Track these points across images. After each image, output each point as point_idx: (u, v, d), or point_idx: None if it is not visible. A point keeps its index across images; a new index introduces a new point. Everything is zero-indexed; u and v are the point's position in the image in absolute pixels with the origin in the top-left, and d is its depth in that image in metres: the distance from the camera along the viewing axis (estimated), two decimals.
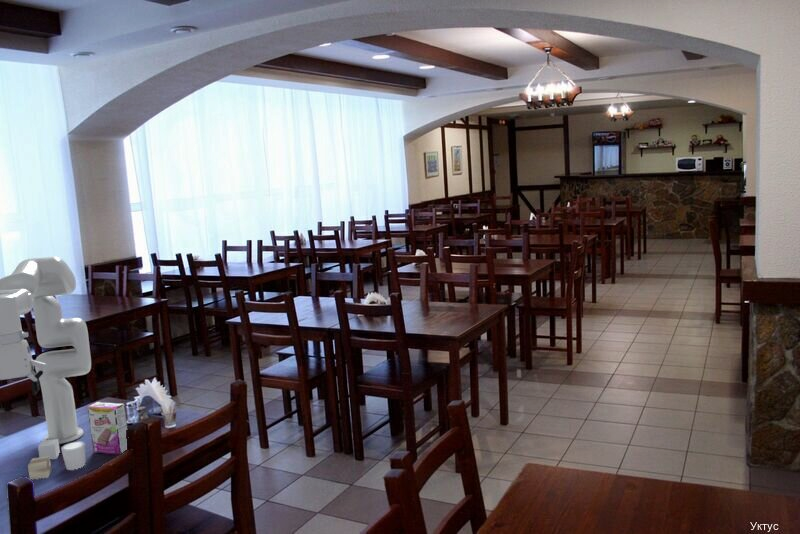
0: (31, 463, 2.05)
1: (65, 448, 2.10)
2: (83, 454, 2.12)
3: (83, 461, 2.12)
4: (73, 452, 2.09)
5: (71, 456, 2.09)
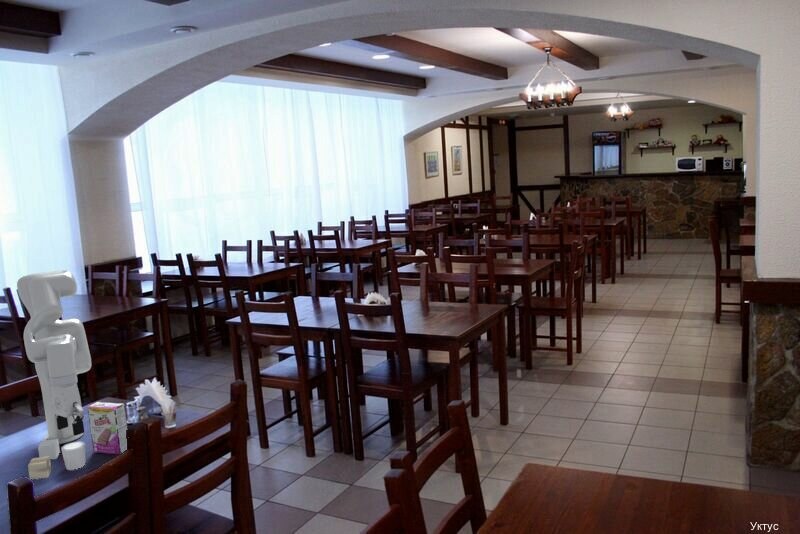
0: (31, 463, 2.05)
1: (65, 448, 2.10)
2: (83, 454, 2.12)
3: (83, 461, 2.12)
4: (73, 452, 2.09)
5: (71, 456, 2.09)
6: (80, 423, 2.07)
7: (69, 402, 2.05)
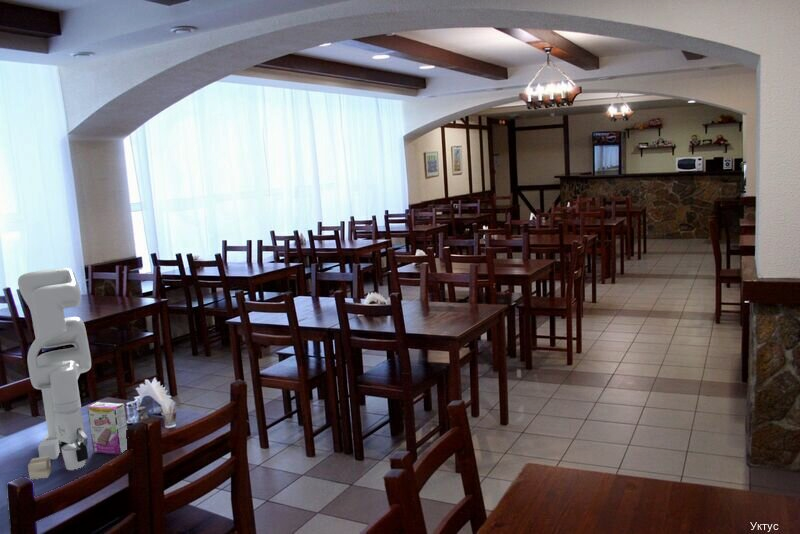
0: (31, 463, 2.05)
1: (65, 448, 2.10)
2: None
3: (83, 461, 2.12)
4: (73, 452, 2.09)
5: (71, 456, 2.09)
6: (84, 449, 2.08)
7: (73, 429, 2.06)
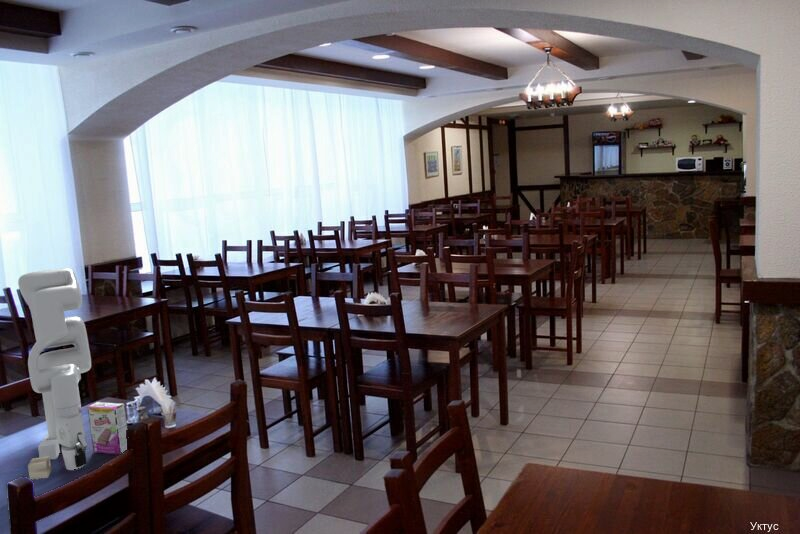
0: (31, 463, 2.05)
1: (65, 448, 2.10)
2: None
3: None
4: (73, 452, 2.09)
5: (71, 456, 2.09)
6: (82, 455, 2.10)
7: (73, 433, 2.07)
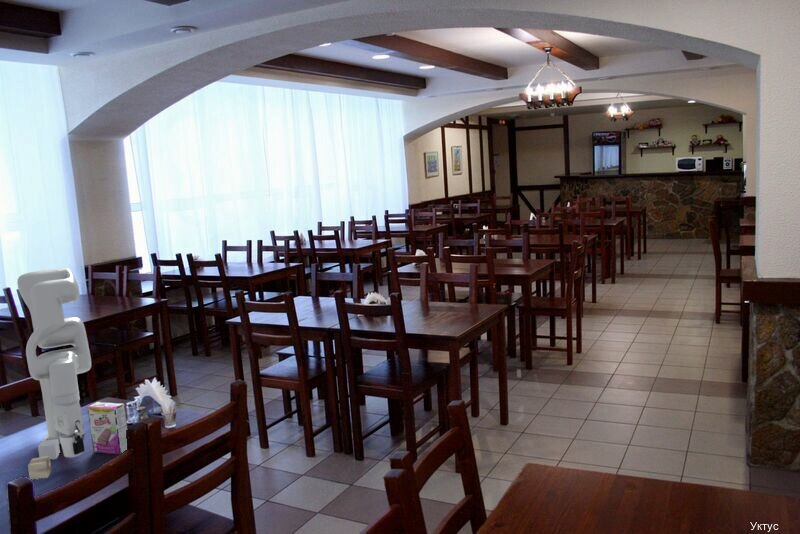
0: (31, 463, 2.05)
1: (63, 435, 2.10)
2: None
3: None
4: (71, 440, 2.09)
5: (69, 443, 2.09)
6: (80, 442, 2.10)
7: (71, 421, 2.06)
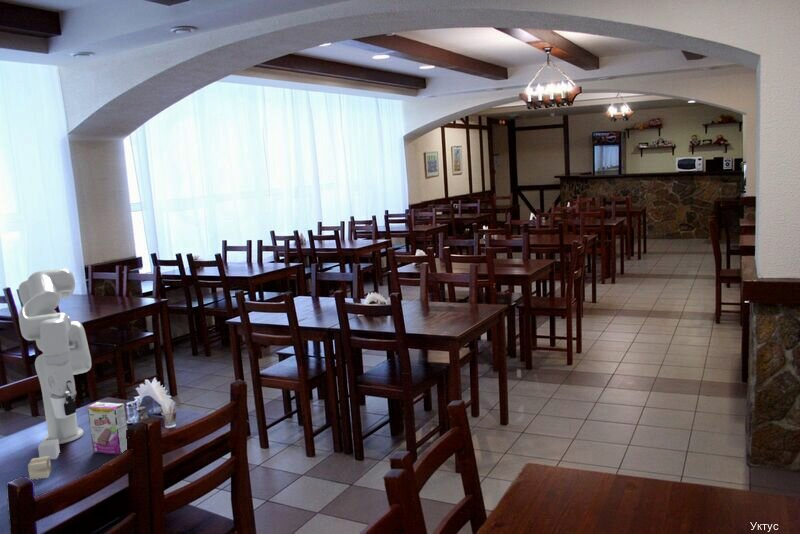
0: (31, 463, 2.05)
1: (54, 396, 2.09)
2: None
3: None
4: (62, 400, 2.08)
5: (60, 404, 2.08)
6: (72, 403, 2.09)
7: (62, 381, 2.05)
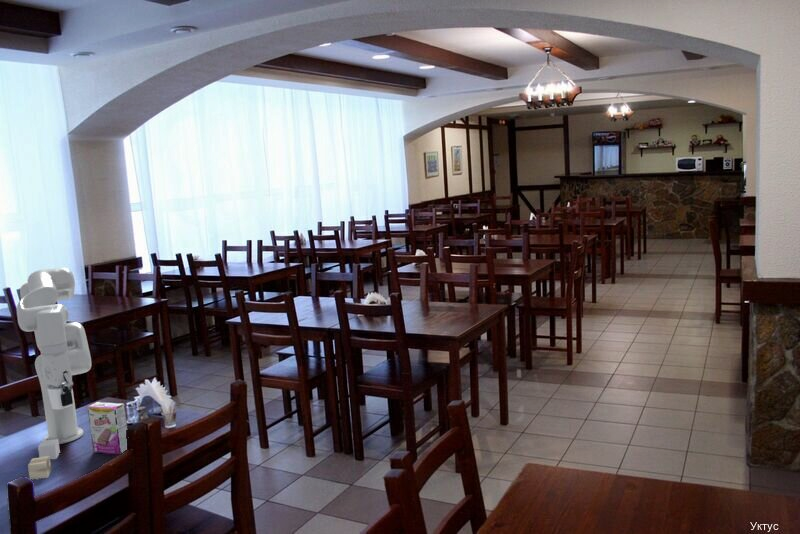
0: (31, 463, 2.05)
1: (51, 387, 2.08)
2: None
3: None
4: (59, 391, 2.07)
5: (57, 395, 2.07)
6: (68, 394, 2.08)
7: (59, 371, 2.05)
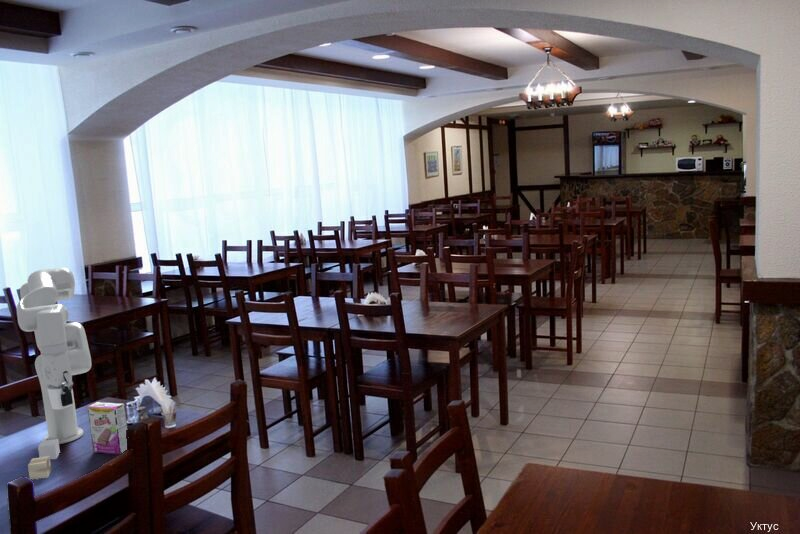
0: (31, 463, 2.05)
1: (51, 387, 2.08)
2: None
3: None
4: (59, 391, 2.07)
5: (57, 395, 2.07)
6: (68, 394, 2.08)
7: (59, 371, 2.05)
